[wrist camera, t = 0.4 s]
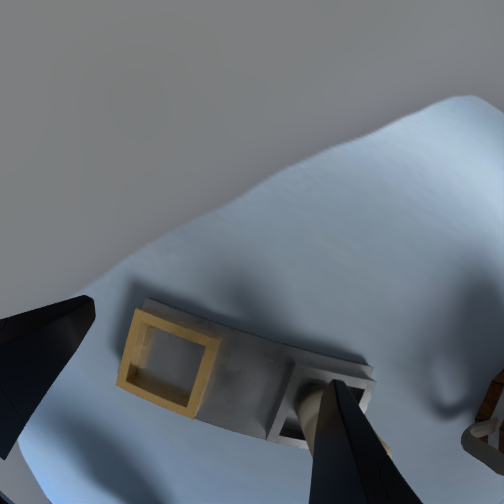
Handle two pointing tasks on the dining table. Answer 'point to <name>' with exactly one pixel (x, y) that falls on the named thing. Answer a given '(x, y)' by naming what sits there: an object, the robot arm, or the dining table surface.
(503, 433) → the mug
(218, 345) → the grey socket board
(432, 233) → the dining table surface
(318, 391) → the peg
